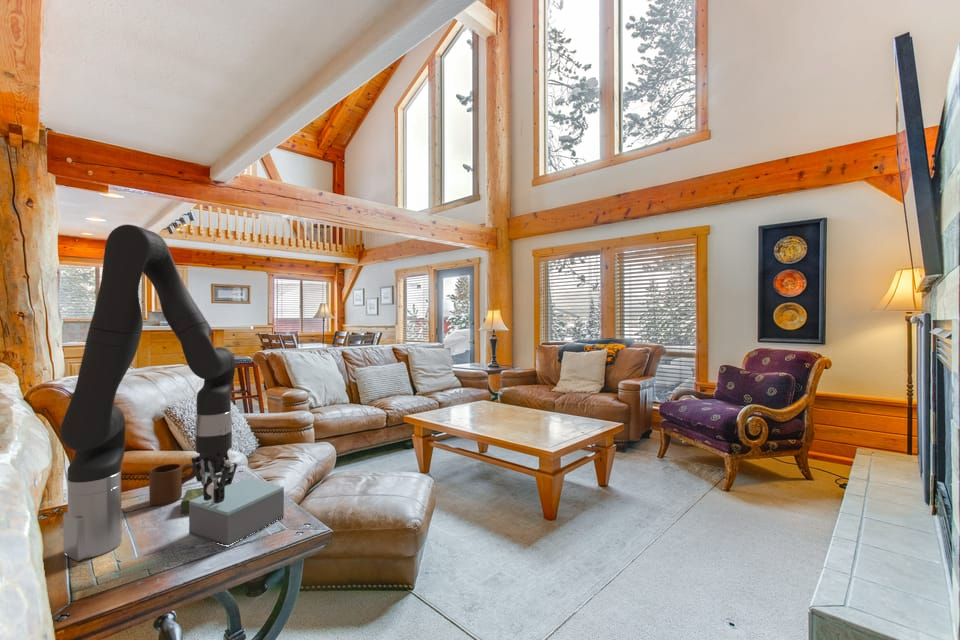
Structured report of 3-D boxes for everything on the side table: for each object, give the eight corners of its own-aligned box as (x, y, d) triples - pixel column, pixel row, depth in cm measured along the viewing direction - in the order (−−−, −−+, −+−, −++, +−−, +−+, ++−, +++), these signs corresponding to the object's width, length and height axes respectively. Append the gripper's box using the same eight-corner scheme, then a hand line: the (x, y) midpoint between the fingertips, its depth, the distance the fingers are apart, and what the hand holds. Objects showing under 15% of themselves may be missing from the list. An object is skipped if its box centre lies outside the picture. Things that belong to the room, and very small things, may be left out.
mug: (194, 487, 133) (194, 457, 132) (202, 495, 128) (202, 463, 128) (146, 500, 124) (146, 468, 123) (153, 509, 119) (153, 475, 118)
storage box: (227, 547, 100) (227, 516, 100) (189, 534, 106) (189, 504, 106) (283, 517, 115) (283, 490, 115) (247, 507, 121) (247, 480, 120)
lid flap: (227, 515, 100) (227, 490, 100) (189, 503, 106) (189, 479, 106) (283, 489, 115) (283, 467, 115) (247, 480, 120) (247, 459, 120)
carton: (247, 505, 122) (247, 490, 122) (180, 516, 116) (180, 500, 115) (249, 493, 130) (249, 479, 130) (186, 503, 123) (186, 488, 123)
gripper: (179, 430, 103) (179, 501, 104) (218, 438, 98) (218, 513, 98) (209, 423, 110) (209, 489, 111) (248, 430, 104) (247, 500, 105)
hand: (214, 500), depth 104 cm, fingers closed on lid flap, 3 cm apart
